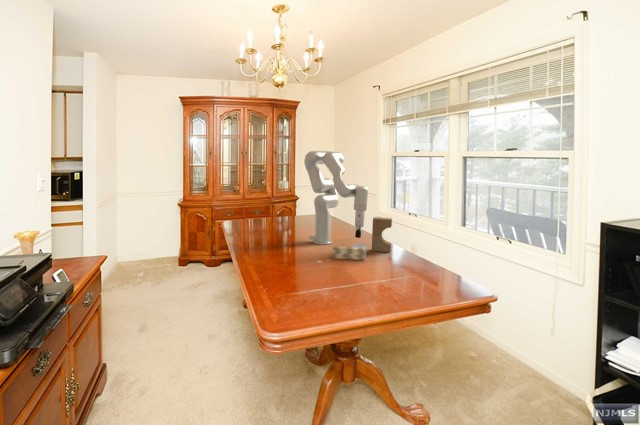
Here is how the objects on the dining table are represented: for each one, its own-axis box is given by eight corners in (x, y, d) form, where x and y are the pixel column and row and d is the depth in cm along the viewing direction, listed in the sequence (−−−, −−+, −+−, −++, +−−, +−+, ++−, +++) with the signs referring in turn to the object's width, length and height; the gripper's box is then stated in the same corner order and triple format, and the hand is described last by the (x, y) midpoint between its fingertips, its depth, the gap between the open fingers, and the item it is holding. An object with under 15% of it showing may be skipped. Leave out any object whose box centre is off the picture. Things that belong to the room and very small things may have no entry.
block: (351, 258, 204) (352, 247, 203) (352, 254, 212) (352, 244, 211) (366, 258, 203) (366, 248, 202) (366, 254, 211) (366, 244, 210)
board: (332, 258, 203) (332, 247, 202) (333, 256, 206) (333, 246, 205) (365, 260, 200) (365, 249, 199) (365, 258, 203) (365, 248, 202)
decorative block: (390, 250, 221) (392, 218, 218) (390, 252, 215) (391, 219, 212) (372, 248, 224) (373, 217, 221) (371, 251, 218) (372, 218, 215)
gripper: (366, 210, 205) (363, 241, 209) (367, 205, 220) (364, 234, 223) (352, 209, 206) (350, 240, 210) (354, 204, 221) (352, 233, 225)
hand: (357, 237), depth 217 cm, fingers closed
